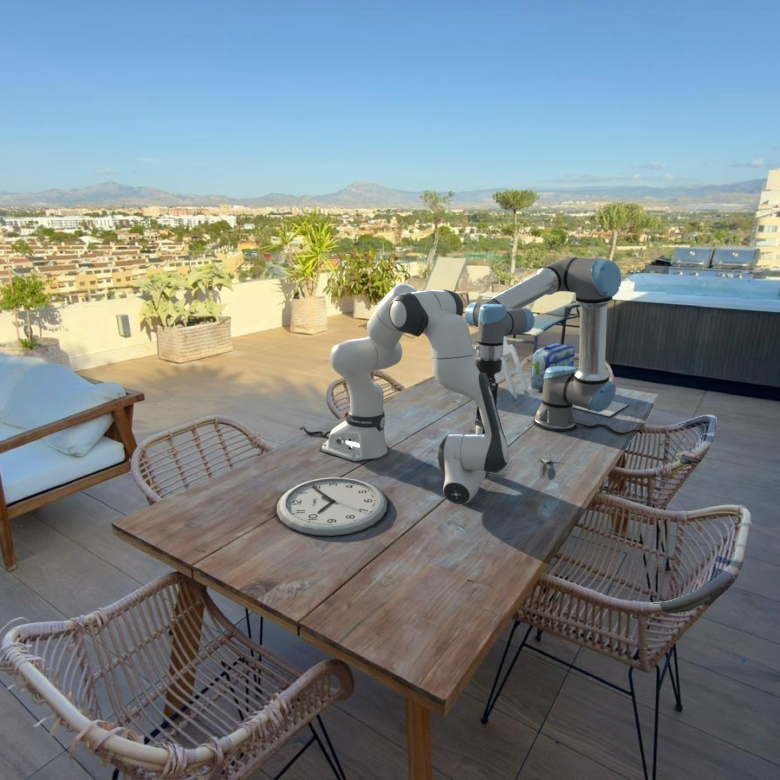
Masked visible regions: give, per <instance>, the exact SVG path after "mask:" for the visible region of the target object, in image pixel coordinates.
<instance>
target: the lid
mask: <svg viewBox="0 0 780 780" xmlns="http://www.w3.org/2000/svg"><path fill="white" fill-rule="evenodd" d="M474 424H475V426H476V425H477V426H480V427H483V422H482V418H481V415H480V416H477V417H476V416H475V419H474Z"/></svg>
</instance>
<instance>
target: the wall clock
mask: <svg viewBox="0 0 780 780" xmlns="http://www.w3.org/2000/svg"><path fill="white" fill-rule="evenodd" d="M387 509H388V500H387V498H386V496H385V494H384V493H383V492H382V491H381V490H380V489H379V488H377V487H376V486H374V485H372V484H371V483H369V482H365V481H362V480H359V479H355V478H349V477H338V476H337V477H335V476H333V477H332V476H331V477H322V478H317V479H312V480H307V481H305V482H302V483H299V484H297V485H295V486H293V487H292V488H290V489H288V490H287V491H286V492H285V493H284V494H283V495H281V496H280V498H279V499H278V502H277V503H276V515H277V517H278V518H279V520H280V521H281V522H282V523H283V524H285V525H286V526H287V527H288V528H290V529H293V530H295V531H297V532H299V533H303V534H308V535H312V536H327V537H328V536H329V537H331V536H332V537H333V536H342V535H350V534H352V533H356V532H361V531H363V530H366V529H368V528H369V527H372V526H373V525H375V524H376V523H378V522H379V521H380V520H381V519H382V518H383V517H384V516H385V514H386V512H387Z"/></svg>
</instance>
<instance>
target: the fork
mask: <svg viewBox="0 0 780 780" xmlns="http://www.w3.org/2000/svg"><path fill="white" fill-rule="evenodd" d="M547 453H549V454H547ZM547 453H545V452H542V458H541V461H542V462H543V465H542V476H544V475H545V472H546V471H547V463H550V462H551V455H552V454H551V453H552V452H551V451H550V452H549V451H548V452H547Z"/></svg>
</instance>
